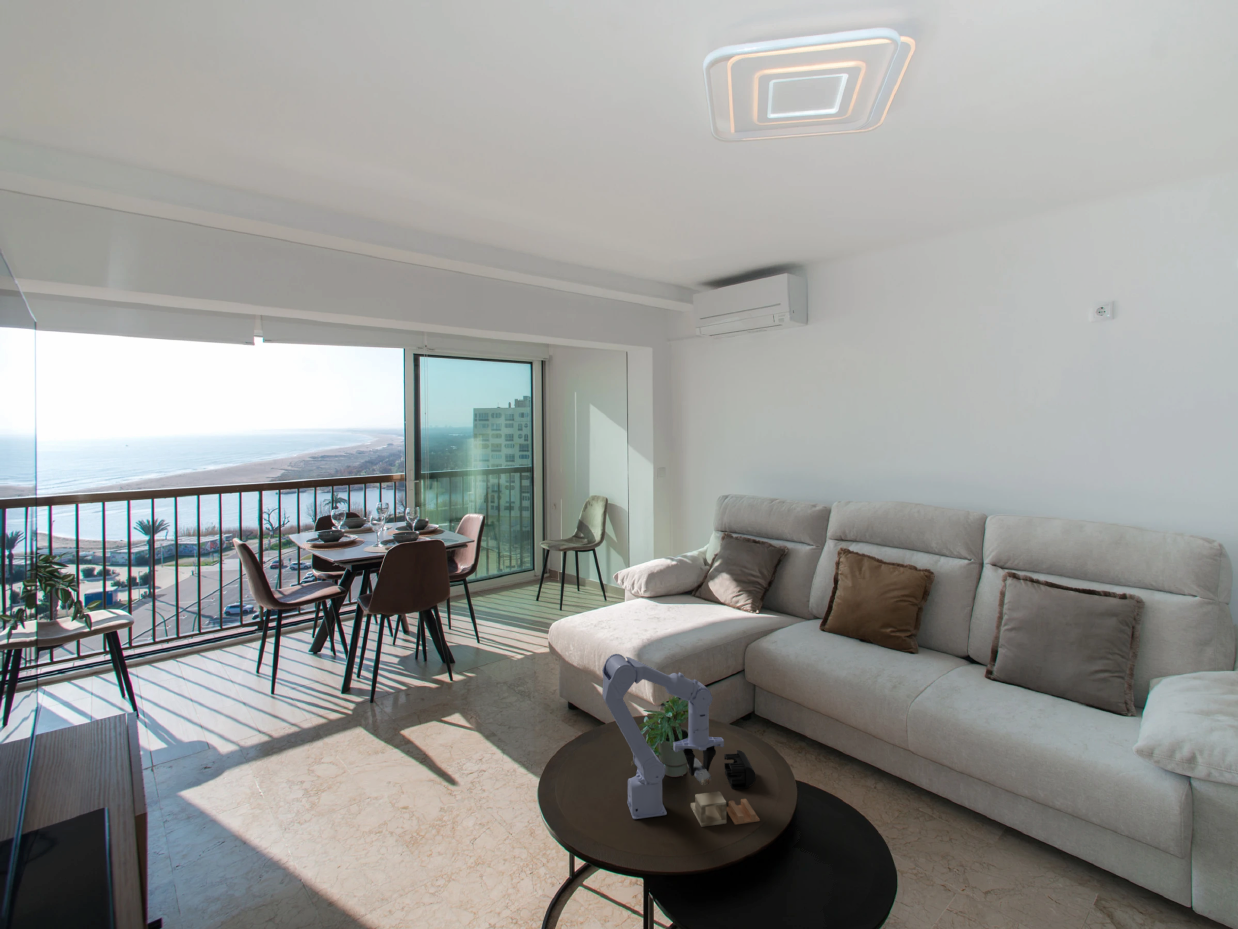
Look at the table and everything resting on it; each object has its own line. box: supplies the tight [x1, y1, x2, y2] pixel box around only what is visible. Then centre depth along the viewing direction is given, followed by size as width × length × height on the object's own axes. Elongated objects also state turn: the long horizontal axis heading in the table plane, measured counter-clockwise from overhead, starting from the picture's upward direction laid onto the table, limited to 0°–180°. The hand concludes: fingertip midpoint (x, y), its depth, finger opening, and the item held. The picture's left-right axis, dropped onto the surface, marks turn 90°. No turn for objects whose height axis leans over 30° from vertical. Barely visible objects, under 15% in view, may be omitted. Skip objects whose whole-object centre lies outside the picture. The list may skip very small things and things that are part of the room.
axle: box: [687, 757, 712, 786], centre depth 169 cm, size 10×4×4 cm, turn 11°
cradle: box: [726, 798, 761, 825], centre depth 162 cm, size 7×7×2 cm
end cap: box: [723, 750, 757, 790], centre depth 179 cm, size 10×7×7 cm
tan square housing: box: [690, 791, 727, 828], centre depth 162 cm, size 7×9×6 cm
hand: (698, 773), depth 170 cm, fingers closed on axle, 4 cm apart
